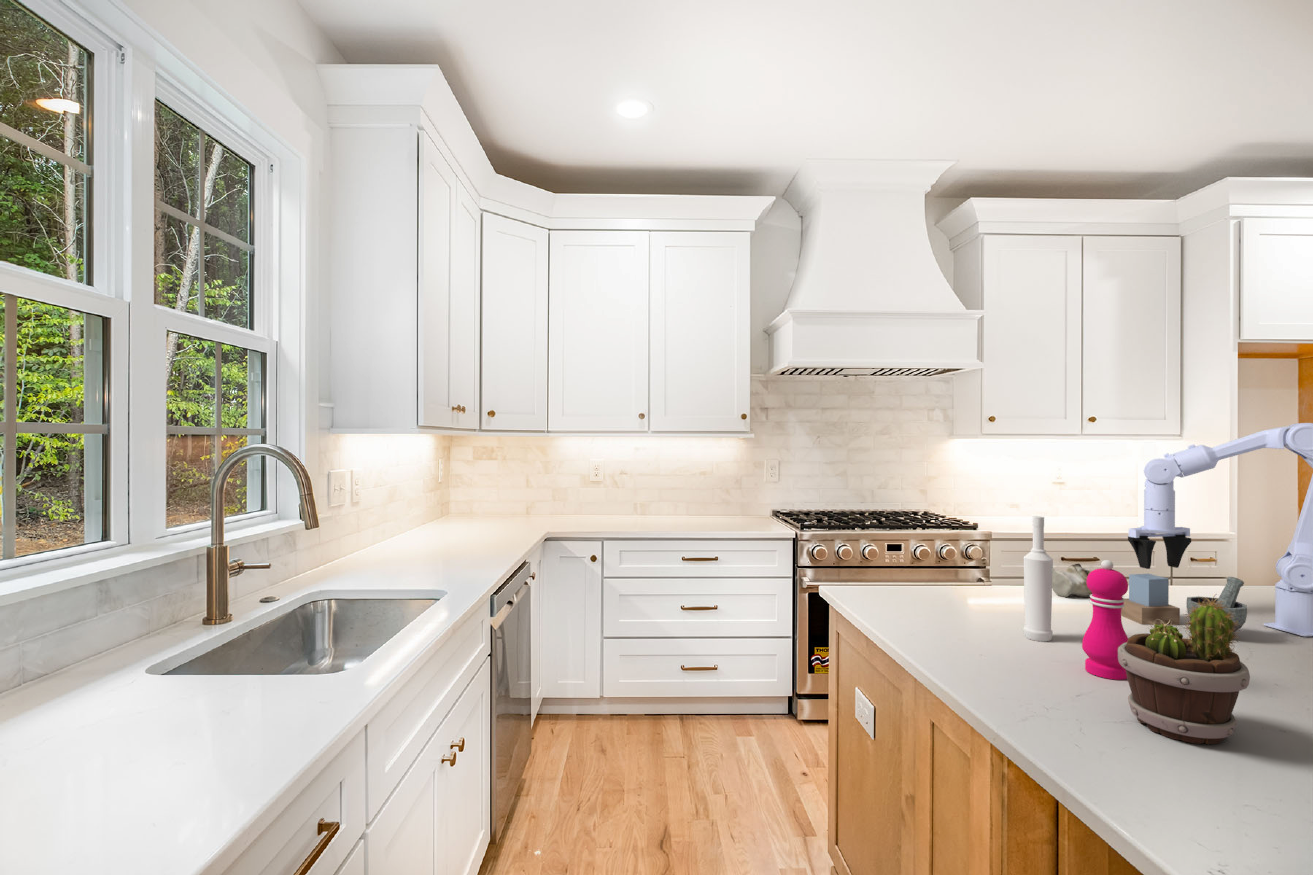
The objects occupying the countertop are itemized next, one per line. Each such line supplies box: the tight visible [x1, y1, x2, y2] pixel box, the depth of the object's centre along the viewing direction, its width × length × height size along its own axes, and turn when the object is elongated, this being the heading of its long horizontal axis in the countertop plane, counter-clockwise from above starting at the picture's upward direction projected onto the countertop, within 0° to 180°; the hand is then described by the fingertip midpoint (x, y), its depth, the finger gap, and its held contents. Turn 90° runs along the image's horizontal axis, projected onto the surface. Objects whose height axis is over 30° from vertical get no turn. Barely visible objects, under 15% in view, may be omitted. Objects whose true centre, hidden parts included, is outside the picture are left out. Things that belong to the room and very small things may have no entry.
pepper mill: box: [1081, 559, 1129, 681], centre depth 112 cm, size 7×7×20 cm
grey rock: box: [1052, 563, 1092, 598], centre depth 164 cm, size 11×9×15 cm
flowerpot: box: [1118, 594, 1251, 745], centre depth 91 cm, size 14×15×20 cm
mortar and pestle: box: [1186, 576, 1248, 641], centre depth 133 cm, size 11×9×12 cm
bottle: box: [1022, 515, 1054, 643], centre depth 131 cm, size 5×5×25 cm
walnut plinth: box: [1121, 597, 1181, 626], centre depth 144 cm, size 8×8×4 cm
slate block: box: [1128, 573, 1170, 606], centre depth 144 cm, size 5×5×6 cm
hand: (1159, 567), depth 150 cm, fingers open, 7 cm apart
